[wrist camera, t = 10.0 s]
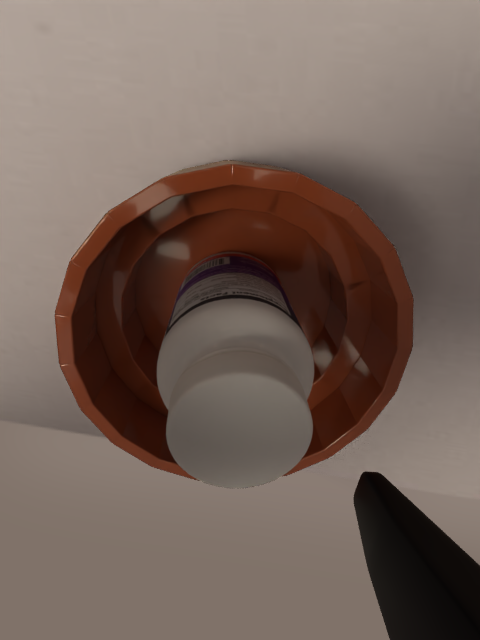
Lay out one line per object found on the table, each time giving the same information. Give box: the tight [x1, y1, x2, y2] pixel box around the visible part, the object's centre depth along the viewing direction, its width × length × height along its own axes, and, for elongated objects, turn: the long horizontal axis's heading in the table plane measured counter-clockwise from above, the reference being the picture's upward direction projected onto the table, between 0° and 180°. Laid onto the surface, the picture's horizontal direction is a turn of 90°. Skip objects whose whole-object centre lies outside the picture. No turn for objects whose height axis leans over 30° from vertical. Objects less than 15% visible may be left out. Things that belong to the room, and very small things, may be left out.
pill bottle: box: [157, 252, 314, 488], centre depth 14 cm, size 5×5×10 cm
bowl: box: [55, 160, 414, 481], centre depth 16 cm, size 13×13×6 cm
